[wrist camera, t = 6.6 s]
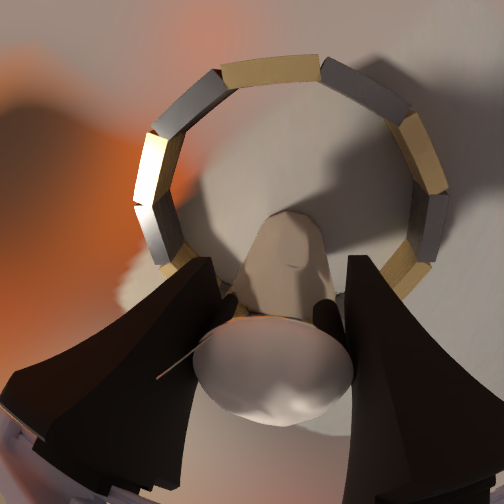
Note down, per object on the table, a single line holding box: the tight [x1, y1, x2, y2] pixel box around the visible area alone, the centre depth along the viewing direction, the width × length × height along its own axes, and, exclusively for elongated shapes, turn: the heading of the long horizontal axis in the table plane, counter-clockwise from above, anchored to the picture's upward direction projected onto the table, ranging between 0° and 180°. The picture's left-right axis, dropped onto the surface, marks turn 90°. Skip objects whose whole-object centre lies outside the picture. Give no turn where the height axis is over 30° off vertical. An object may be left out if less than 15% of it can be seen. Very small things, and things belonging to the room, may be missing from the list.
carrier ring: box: [134, 54, 450, 331], centre depth 12 cm, size 14×14×2 cm
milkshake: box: [148, 211, 354, 426], centre depth 10 cm, size 4×5×10 cm
